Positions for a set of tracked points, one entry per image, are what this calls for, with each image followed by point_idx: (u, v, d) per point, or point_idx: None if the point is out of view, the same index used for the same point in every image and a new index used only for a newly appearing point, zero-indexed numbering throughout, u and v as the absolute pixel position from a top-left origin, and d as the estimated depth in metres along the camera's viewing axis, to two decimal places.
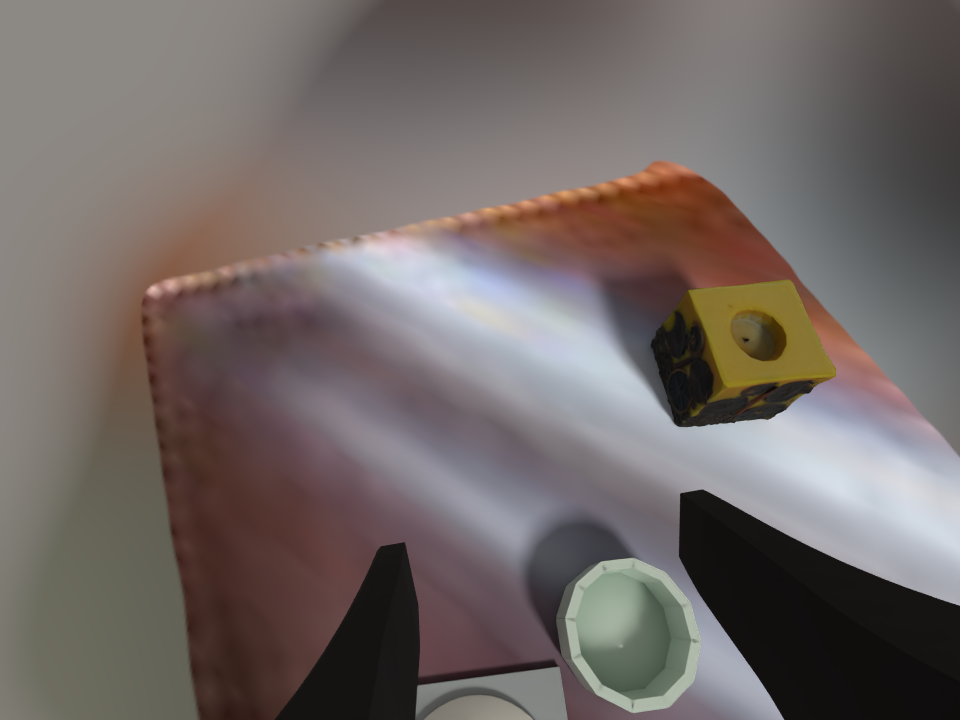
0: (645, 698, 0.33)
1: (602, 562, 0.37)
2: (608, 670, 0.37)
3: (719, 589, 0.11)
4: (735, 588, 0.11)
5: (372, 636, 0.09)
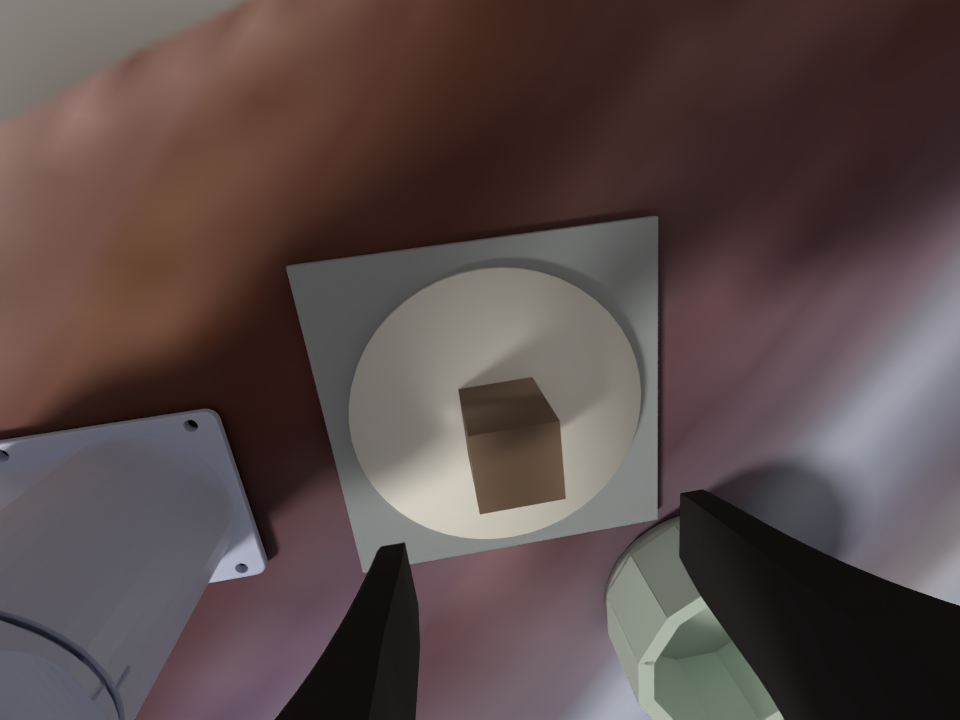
0: (652, 677, 0.21)
1: None
2: None
3: (719, 589, 0.11)
4: (735, 588, 0.11)
5: (372, 636, 0.09)
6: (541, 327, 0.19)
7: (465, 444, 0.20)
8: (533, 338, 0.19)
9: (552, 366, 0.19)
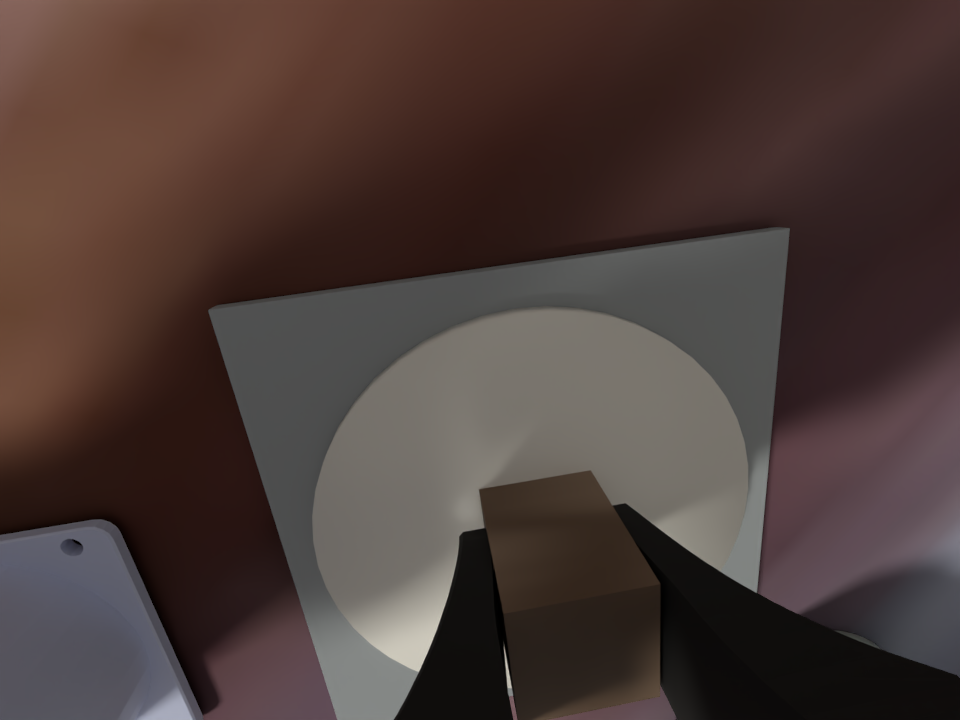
0: None
1: None
2: None
3: None
4: None
5: (483, 615, 0.09)
6: (608, 399, 0.12)
7: None
8: (594, 415, 0.12)
9: (620, 454, 0.13)
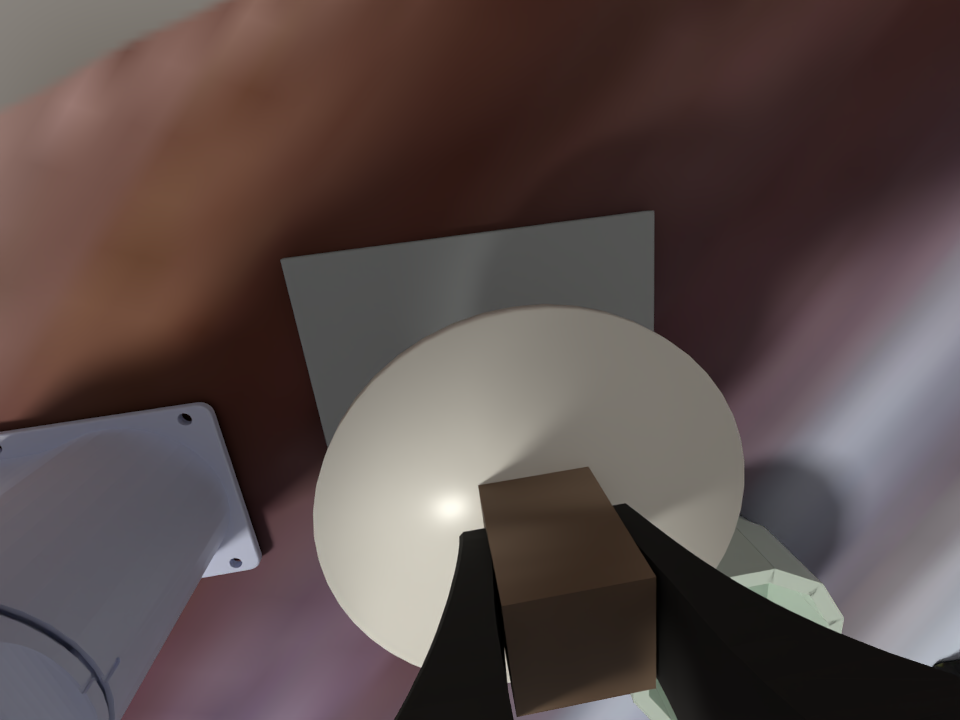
0: None
1: (841, 619, 0.21)
2: None
3: None
4: None
5: (483, 615, 0.09)
6: (605, 396, 0.12)
7: None
8: (592, 412, 0.13)
9: (618, 450, 0.13)
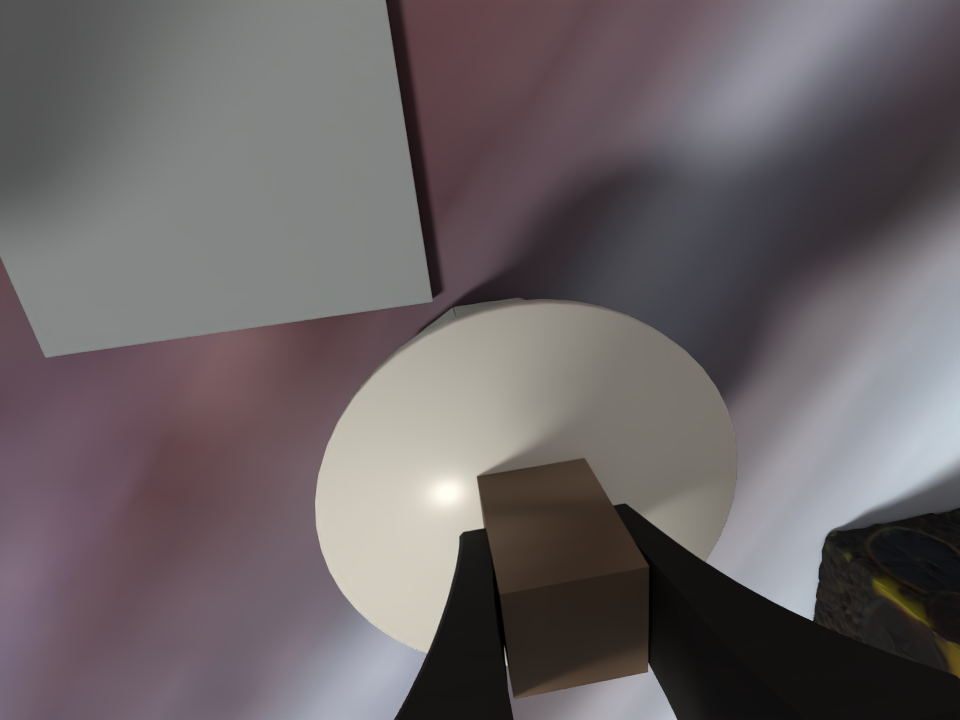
0: None
1: None
2: None
3: None
4: None
5: (484, 615, 0.09)
6: (602, 390, 0.13)
7: None
8: (589, 405, 0.13)
9: (614, 443, 0.13)
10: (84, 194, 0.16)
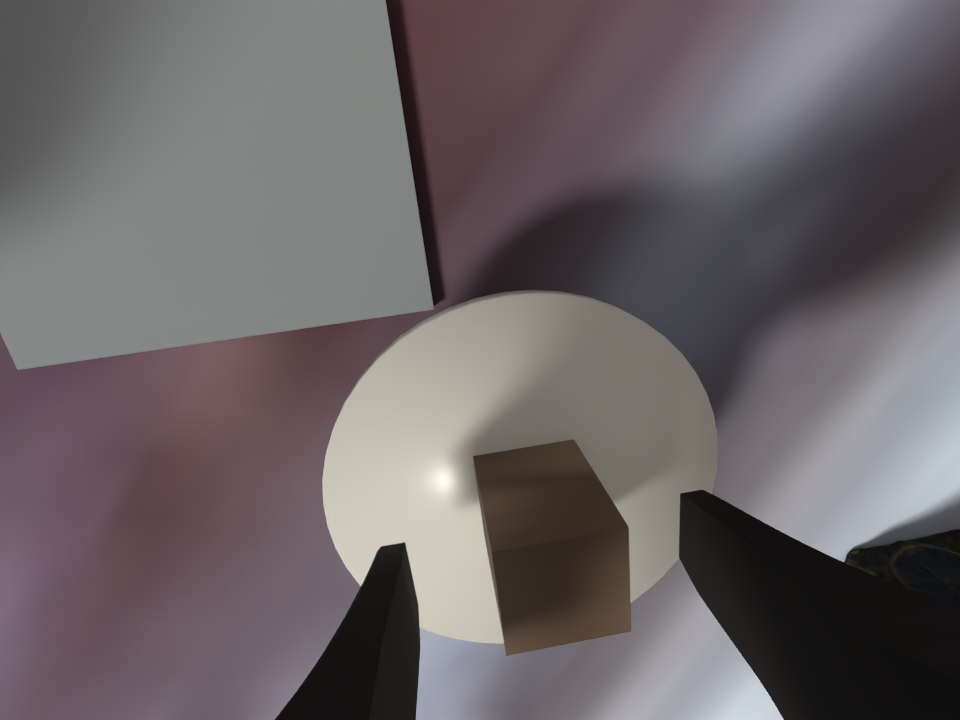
0: None
1: None
2: None
3: (719, 589, 0.11)
4: (735, 588, 0.11)
5: (372, 636, 0.09)
6: (588, 373, 0.14)
7: (481, 527, 0.15)
8: (577, 388, 0.14)
9: (601, 425, 0.14)
10: (57, 194, 0.15)
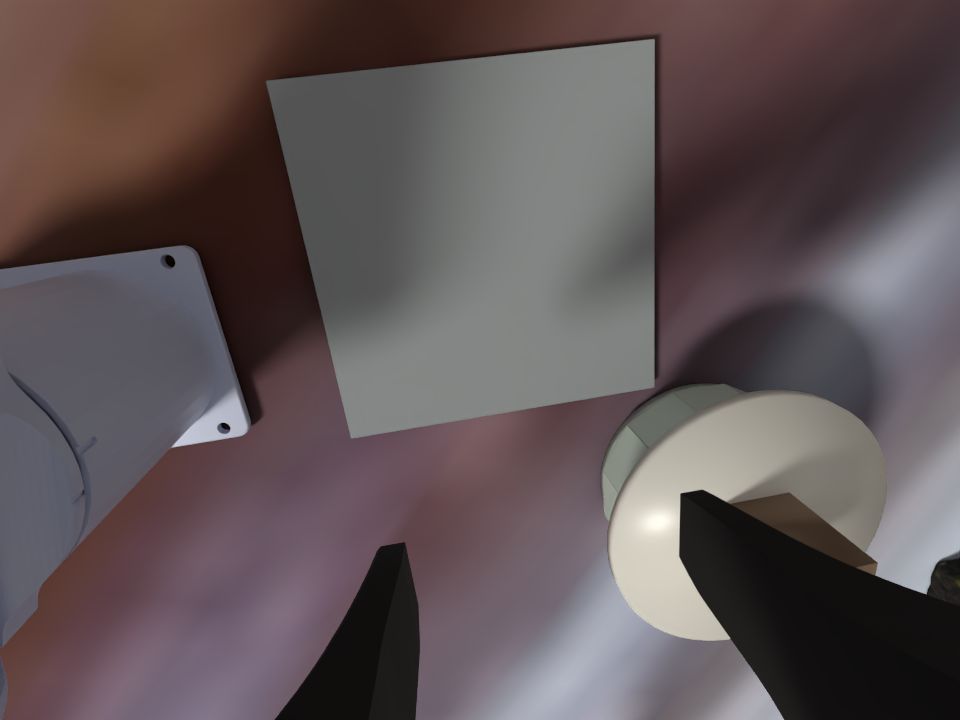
0: None
1: None
2: None
3: (719, 589, 0.11)
4: (735, 588, 0.11)
5: (372, 636, 0.09)
6: (807, 447, 0.19)
7: None
8: (797, 457, 0.19)
9: (809, 482, 0.20)
10: (405, 313, 0.20)
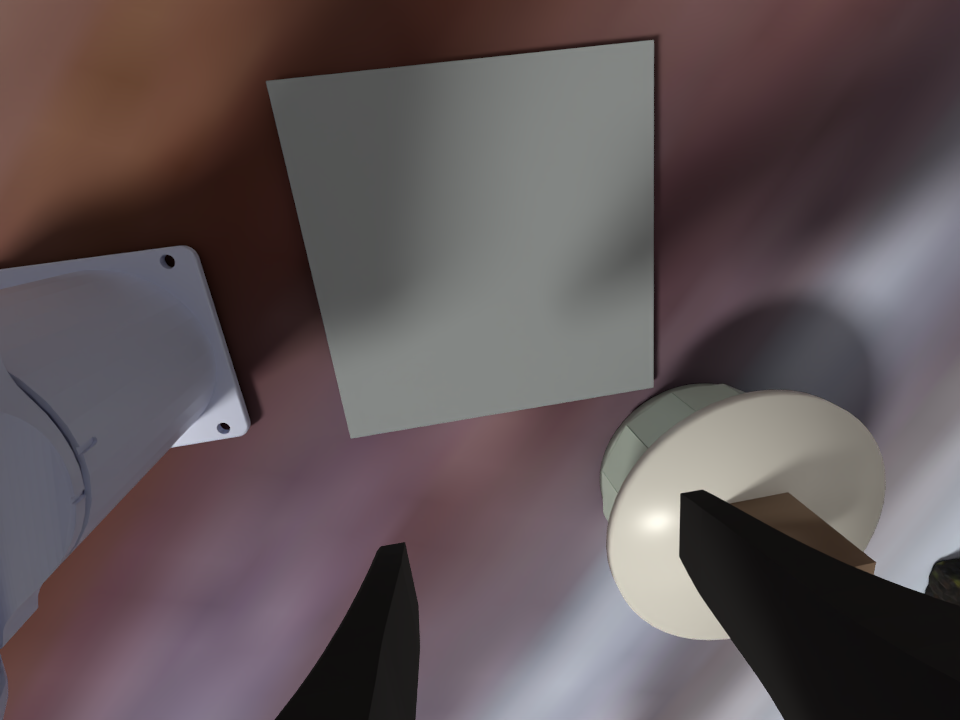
0: None
1: None
2: None
3: (719, 589, 0.11)
4: (735, 588, 0.11)
5: (372, 636, 0.09)
6: (805, 447, 0.19)
7: None
8: (796, 457, 0.19)
9: (808, 481, 0.20)
10: (405, 313, 0.20)
